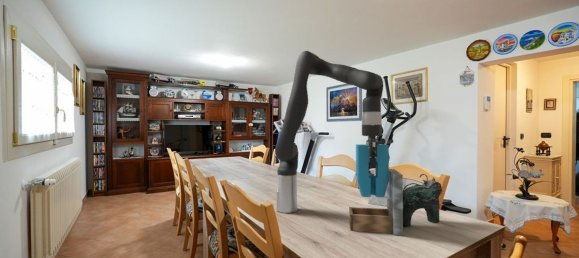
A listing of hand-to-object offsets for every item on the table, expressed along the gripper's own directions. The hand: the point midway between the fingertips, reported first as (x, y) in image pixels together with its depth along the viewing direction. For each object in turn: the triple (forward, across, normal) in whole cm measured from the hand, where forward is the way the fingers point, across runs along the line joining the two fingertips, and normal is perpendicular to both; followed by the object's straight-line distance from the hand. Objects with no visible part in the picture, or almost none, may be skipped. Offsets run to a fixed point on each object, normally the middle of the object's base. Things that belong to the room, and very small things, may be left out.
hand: (371, 166), depth 105 cm
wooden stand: (+24, 0, +1) cm, 24 cm away
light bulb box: (+24, -34, +8) cm, 42 cm away
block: (+12, 0, 0) cm, 12 cm away
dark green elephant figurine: (+24, -7, +20) cm, 32 cm away
